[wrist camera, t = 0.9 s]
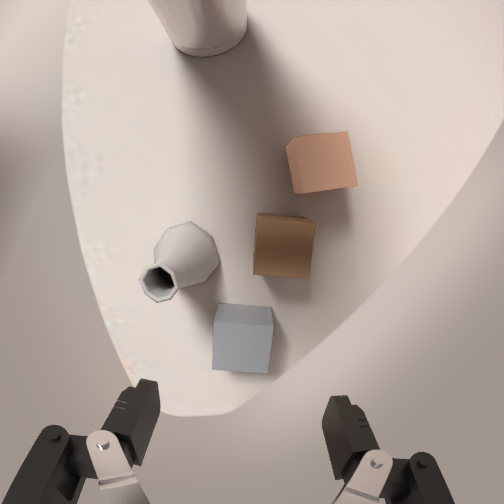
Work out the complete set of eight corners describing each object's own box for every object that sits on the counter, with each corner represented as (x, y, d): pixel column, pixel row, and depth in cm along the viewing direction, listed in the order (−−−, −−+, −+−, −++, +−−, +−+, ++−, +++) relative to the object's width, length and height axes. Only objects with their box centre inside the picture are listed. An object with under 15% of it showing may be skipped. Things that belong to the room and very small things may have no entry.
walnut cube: (256, 212, 30) (258, 218, 24) (303, 217, 30) (315, 223, 24) (253, 258, 31) (253, 274, 25) (298, 262, 31) (308, 278, 25)
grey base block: (218, 302, 32) (213, 321, 27) (270, 306, 32) (273, 326, 27) (217, 346, 33) (212, 369, 28) (265, 350, 33) (267, 373, 28)
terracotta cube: (285, 147, 28) (293, 137, 22) (329, 142, 28) (347, 131, 22) (293, 193, 29) (303, 193, 23) (337, 186, 29) (357, 185, 23)
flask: (232, 263, 31) (222, 296, 21) (181, 297, 32) (155, 338, 22) (193, 209, 30) (165, 218, 20) (144, 246, 30) (102, 270, 21)
